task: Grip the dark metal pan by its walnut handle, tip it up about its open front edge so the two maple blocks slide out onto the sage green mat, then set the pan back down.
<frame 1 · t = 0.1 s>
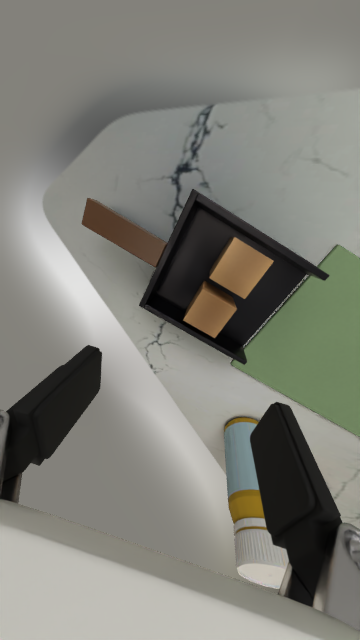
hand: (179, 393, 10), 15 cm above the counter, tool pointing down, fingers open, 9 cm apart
block a: (234, 264, 20), point 1 cm above the counter, touching pan
block b: (209, 302, 22), point 1 cm above the counter, touching pan
pan: (190, 269, 19), point 2 cm above the counter, hinge at 0.0°, touching block a, block b
bottle: (244, 428, 31), on the counter
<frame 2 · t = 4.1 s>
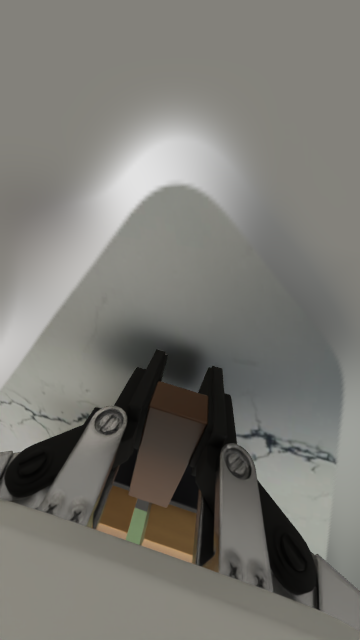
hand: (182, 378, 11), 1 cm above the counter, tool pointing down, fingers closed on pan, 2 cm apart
block a: (175, 488, 17), point 1 cm above the counter
mat: (126, 550, 29), on the counter
block b: (123, 471, 17), point 1 cm above the counter
pan: (150, 480, 14), point 2 cm above the counter, hinge at 0.0°, touching gripper
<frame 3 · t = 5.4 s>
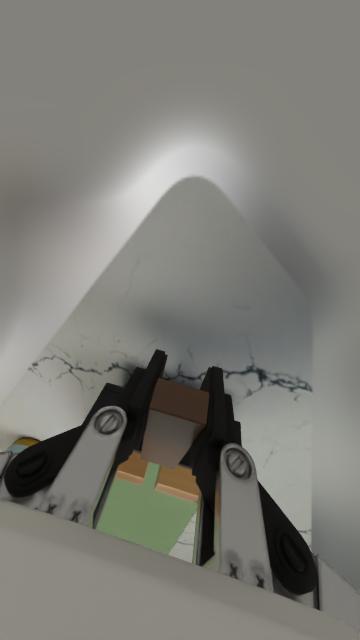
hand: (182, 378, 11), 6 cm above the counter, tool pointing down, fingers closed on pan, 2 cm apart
block a: (184, 443, 19), point 2 cm above the counter, tilted 14°, touching pan
mat: (140, 505, 32), on the counter
block b: (138, 429, 19), point 2 cm above the counter, tilted 14°, touching pan
pan: (161, 441, 16), point 5 cm above the counter, hinge at 13.9°, touching block a, block b, gripper
bottle: (37, 448, 30), on the counter
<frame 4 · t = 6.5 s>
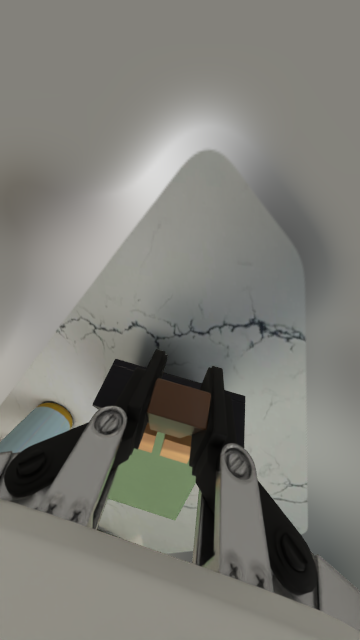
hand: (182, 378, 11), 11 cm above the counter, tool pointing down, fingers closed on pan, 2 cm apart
block a: (181, 429, 25), point 2 cm above the counter, tilted 90°, touching mat
mat: (150, 468, 35), on the counter
block b: (146, 418, 25), point 2 cm above the counter, tilted 90°, touching mat
pan: (170, 409, 17), point 7 cm above the counter, hinge at 28.3°, touching gripper
bottle: (57, 413, 33), on the counter
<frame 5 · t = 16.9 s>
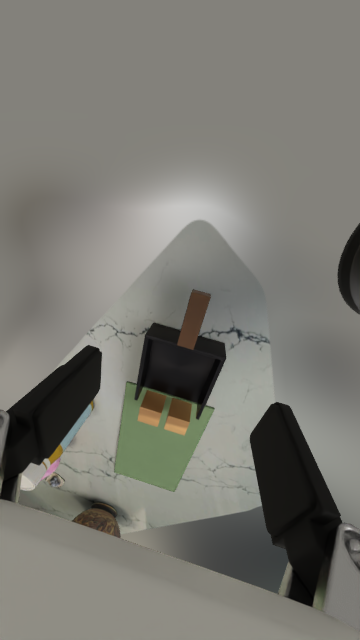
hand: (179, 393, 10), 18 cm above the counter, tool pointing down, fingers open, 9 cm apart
blueberries: (55, 477, 61), on the counter
block a: (180, 409, 33), point 2 cm above the counter, tilted 90°, touching mat
mat: (155, 445, 43), on the counter
block b: (154, 400, 33), point 2 cm above the counter, tilted 90°, touching mat
pan: (182, 355, 28), point 2 cm above the counter, hinge at -0.1°
ceramic bowl: (105, 507, 64), on the counter
bottle: (81, 398, 41), on the counter
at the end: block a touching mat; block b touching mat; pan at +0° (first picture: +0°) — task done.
